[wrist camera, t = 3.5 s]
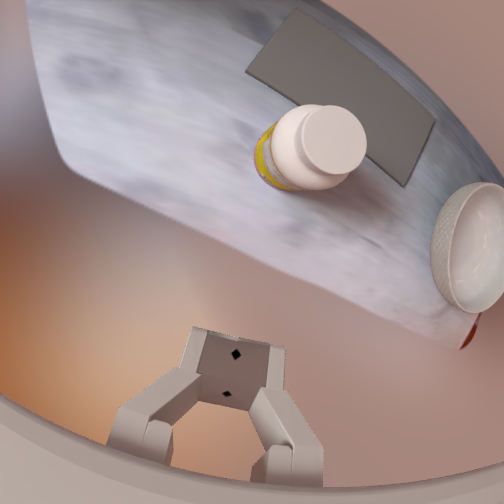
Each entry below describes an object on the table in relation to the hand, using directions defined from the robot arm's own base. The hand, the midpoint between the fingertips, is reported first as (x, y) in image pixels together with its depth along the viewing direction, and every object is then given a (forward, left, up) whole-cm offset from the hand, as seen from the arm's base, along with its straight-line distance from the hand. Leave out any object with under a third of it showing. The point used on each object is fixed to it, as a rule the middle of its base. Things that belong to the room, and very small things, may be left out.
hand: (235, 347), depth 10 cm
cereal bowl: (+31, +10, -22) cm, 40 cm away
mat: (+9, +21, -22) cm, 32 cm away
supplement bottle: (+4, +10, -22) cm, 25 cm away
